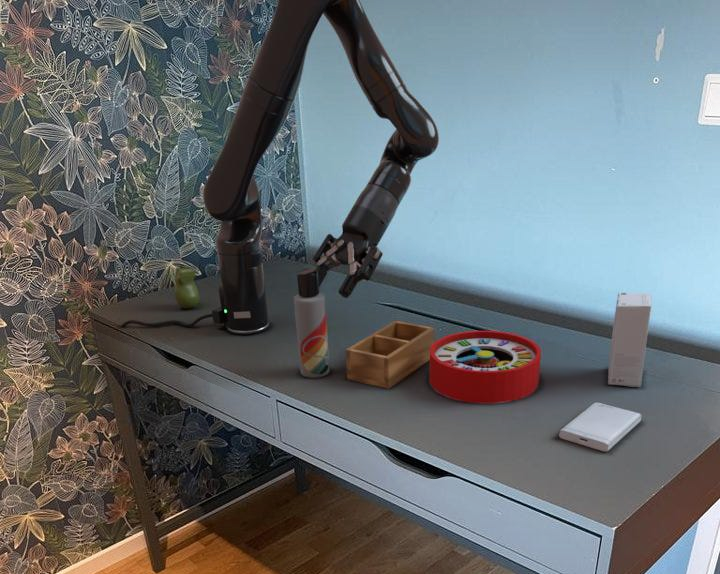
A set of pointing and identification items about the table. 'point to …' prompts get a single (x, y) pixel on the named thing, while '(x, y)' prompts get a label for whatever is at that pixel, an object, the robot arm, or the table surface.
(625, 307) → the cosmetic box
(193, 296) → the pear
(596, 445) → the hard drive
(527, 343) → the toy clock
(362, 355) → the wooden organizer box
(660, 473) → the table surface
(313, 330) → the lotion bottle
